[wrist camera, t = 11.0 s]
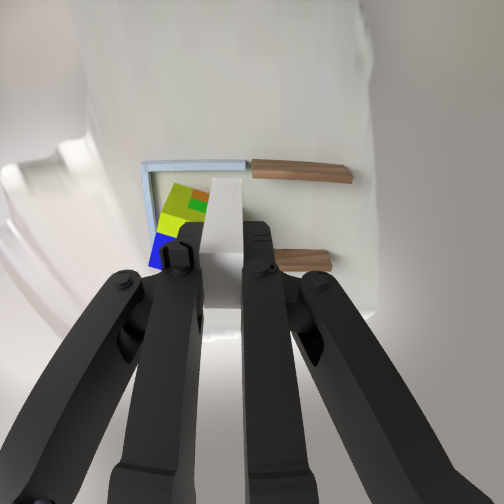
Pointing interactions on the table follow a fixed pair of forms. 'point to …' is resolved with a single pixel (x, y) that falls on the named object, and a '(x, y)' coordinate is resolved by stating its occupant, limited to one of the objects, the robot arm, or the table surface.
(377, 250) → the table surface
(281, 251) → the channel
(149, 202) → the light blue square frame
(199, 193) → the puzzle toy
